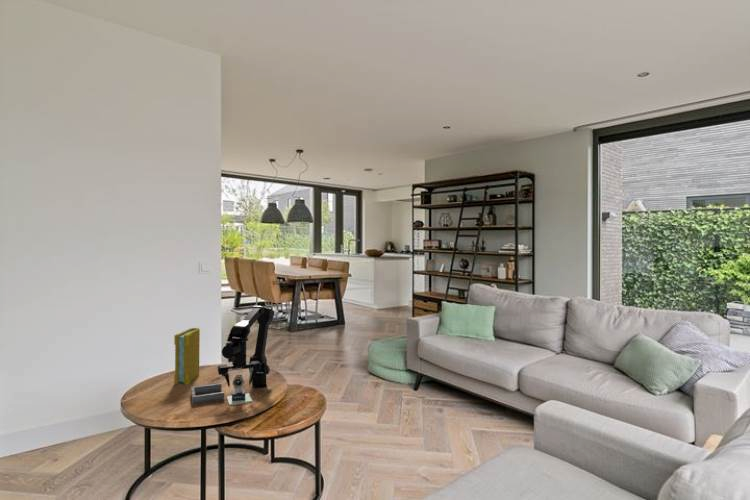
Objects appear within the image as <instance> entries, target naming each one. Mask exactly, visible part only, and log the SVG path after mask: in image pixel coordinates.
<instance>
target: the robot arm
mask: <svg viewBox="0 0 750 500" xmlns="http://www.w3.org/2000/svg"><path fill="white" fill-rule="evenodd" d="M274 317H275V310H274V309H273V308H271V307H264V306H263V305H253V307H252V308H251V310H250V311H249V312H248V314H247V315H246V316H245V317H244V318H243V319H242V320H240V321H239V322H236V323H235V324H234V325H232V327H231V328H230V332H229V335H228V337H227V340H226V343H225V346H223V347H222V349H221V355H222V356H223V358H225V359H227V363H231V366H228V364H219V365H218V366H217V374H218V375H220V376H222V377H224V378H225V380H226V384H227V386H228V388H230V385H231V384H230V375H229V372H230V371H239V370H245V369H246V370H249V377H248V378H249V379H248V384H249V385H251V386H252V387H253V388H254V389H256V388H263V387H268V384H267V375H269V374H270V370H271V368H270V366H269V365H268V363H267V362H268V360H267V357H266V354H265V353H266V345H267V341H268V340H267V339H268V333H269V326H270V324H272V322H273V320H274ZM256 321H257V323H258V330H257V335H256V342H255V343H256V344H255V351H254V354H253V355H252V356H250V357H249V363H247V342H248V341H249V338H248V336H249V335H250V333H251V327H252V326H253V325H254V324H255V323H256Z"/></svg>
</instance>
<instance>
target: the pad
mask: <svg viewBox="0 0 750 500" xmlns="http://www.w3.org/2000/svg"><path fill="white" fill-rule="evenodd" d="M226 399H227V402H228V406H235V405H243V404H248V403H253V399H252V396H251V395H250V393H249V392H248V393H247V392H245V400H241V401H232V395H227V396H226Z"/></svg>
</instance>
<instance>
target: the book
mask: <svg viewBox="0 0 750 500" xmlns="http://www.w3.org/2000/svg"><path fill="white" fill-rule="evenodd" d="M200 332H201V330H200V328H199V327H192V328H187V329H186V330H183V331H181V332H179V333H176V334H174V343H173V344H174V345H175V346H174V347H175V349H174V351H175V355H174V357H175V358H174V362H175V363H174V367H175V368H174V370H175V371H174V375H173V378H174V379H173V384H174V385H179V384H180V383H183V385H189V384H190V383H192V381H193V380H194V379H195V378H197V377H198V376H199V375H200V341H201V340H200V338H201V337H200V335H201V334H200Z"/></svg>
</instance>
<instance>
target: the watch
mask: <svg viewBox="0 0 750 500" xmlns="http://www.w3.org/2000/svg"><path fill="white" fill-rule="evenodd" d="M243 377H244V376H243V374H236V375H235V377H234V378H233V380H232V386H233V390H232V393H231V396H232V401H241V400H245V394H246V389H245V390H244V389H243V386H244V384H245V383H246V381H244V378H243Z"/></svg>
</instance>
